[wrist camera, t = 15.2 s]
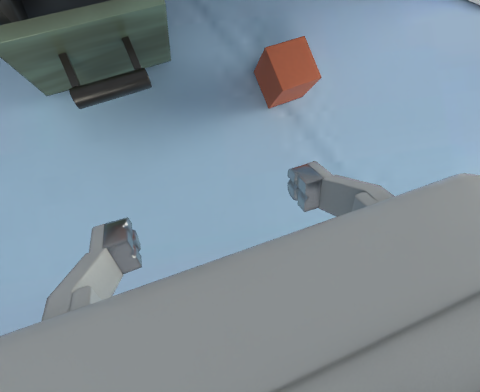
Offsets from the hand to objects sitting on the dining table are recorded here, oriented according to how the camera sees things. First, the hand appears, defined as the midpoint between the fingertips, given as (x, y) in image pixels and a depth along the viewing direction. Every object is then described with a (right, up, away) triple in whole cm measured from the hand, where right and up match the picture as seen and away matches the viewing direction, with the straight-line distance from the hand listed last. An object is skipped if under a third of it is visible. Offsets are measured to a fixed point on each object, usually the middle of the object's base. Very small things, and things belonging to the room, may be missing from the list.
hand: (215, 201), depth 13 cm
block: (+6, +13, +18) cm, 23 cm away
